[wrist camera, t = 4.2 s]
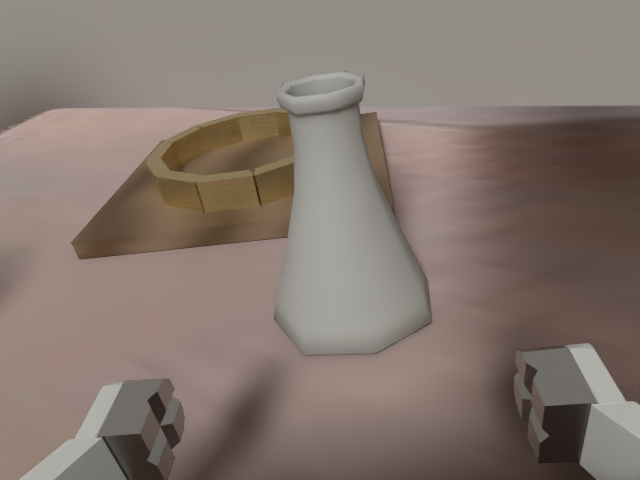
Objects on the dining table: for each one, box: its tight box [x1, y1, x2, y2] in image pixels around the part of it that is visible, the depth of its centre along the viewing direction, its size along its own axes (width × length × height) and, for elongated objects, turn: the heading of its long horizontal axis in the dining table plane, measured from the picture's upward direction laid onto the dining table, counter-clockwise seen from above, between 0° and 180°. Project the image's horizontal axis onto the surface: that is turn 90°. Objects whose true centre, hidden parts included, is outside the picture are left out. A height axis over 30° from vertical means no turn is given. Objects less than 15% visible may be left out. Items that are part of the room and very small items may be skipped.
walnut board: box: [71, 112, 394, 259], centre depth 36 cm, size 19×17×1 cm
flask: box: [274, 71, 432, 355], centre depth 20 cm, size 7×7×10 cm
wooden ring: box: [146, 108, 294, 213], centre depth 35 cm, size 13×13×2 cm
